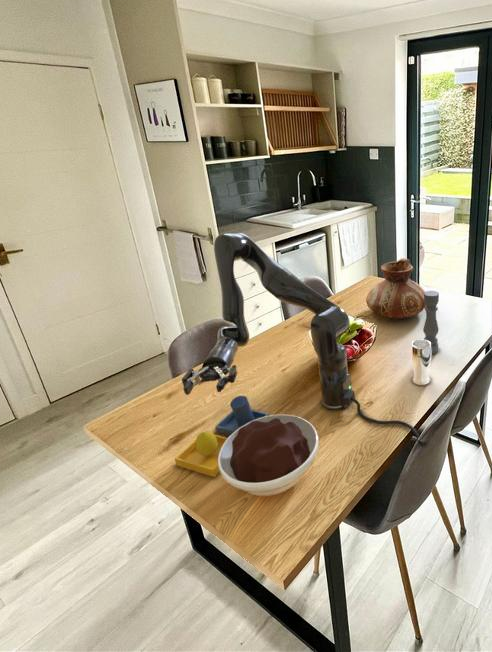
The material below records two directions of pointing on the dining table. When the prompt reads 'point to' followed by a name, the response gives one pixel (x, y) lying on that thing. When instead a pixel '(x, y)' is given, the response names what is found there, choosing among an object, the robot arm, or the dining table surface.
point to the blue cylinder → (241, 410)
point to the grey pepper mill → (431, 319)
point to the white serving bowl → (268, 454)
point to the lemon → (206, 443)
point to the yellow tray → (200, 459)
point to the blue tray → (234, 422)
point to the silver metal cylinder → (421, 361)
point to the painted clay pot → (396, 292)
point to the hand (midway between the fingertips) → (202, 390)
